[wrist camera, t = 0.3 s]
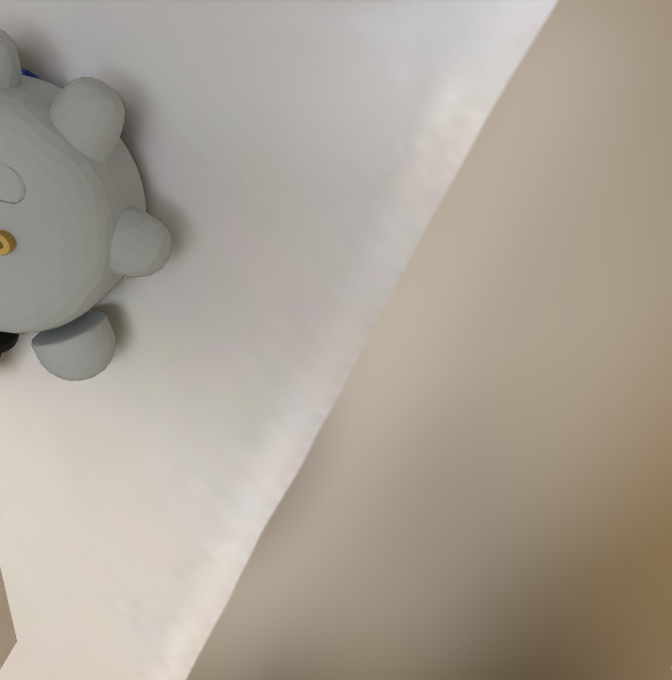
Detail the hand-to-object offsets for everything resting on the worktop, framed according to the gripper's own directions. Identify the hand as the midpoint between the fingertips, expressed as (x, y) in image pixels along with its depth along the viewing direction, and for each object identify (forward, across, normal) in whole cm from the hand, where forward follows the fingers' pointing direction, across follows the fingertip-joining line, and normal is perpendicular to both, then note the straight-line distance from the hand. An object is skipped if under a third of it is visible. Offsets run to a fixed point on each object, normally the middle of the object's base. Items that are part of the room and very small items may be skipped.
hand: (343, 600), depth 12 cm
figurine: (+28, -19, +1) cm, 34 cm away
